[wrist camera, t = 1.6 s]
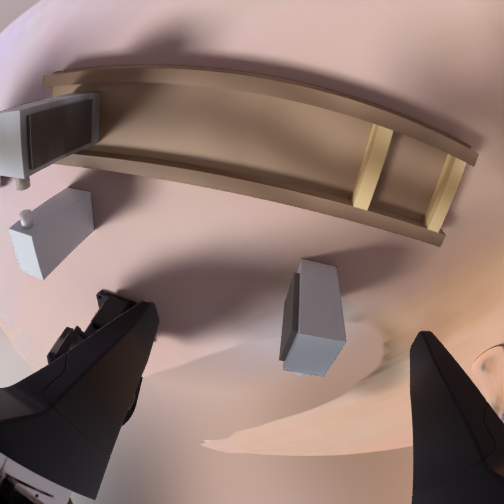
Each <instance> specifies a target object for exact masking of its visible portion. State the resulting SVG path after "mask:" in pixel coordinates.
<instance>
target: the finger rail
mask: <svg viewBox="0 0 504 504" xmlns="http://www.w3.org/2000/svg"><path fill="white" fill-rule="evenodd" d="M47 87H52V97H51V98H47V99H43V100H39V101H35V102H31V103H27V104H24V105H20V106H17V107H13V108H10V109H7V110H4V111H1V112H0V175H1V176H8V177H14V178H15V179H16V187H17V190H25V189H27V188H29V187H30V178H29V176H31V175H32V174H34V173H36V172H38V171H40V170H42V169H44V168H45V167H47V166H49V165H51V164H60V165H68V166H76V167H84V168H92V169H99V170H106V171H113V172H120V173H127V174H133V175H139V176H146V177H152V178H158V179H163V180H169V181H175V182H180V183H186V184H191V185H196V186H202V187H207V188H212V189H217V190H222V191H227V192H232V193H237V194H241V195H246V196H251V197H255V198H260V199H264V200H269V201H273V202H278V203H282V204H286V205H290V206H295V207H299V208H303V209H307V210H311V211H315V212H319V213H323V214H327V215H331V216H335V217H339V218H343V219H346V220H350V221H354V222H358V223H361V224H365V225H368V226H372V227H376V228H379V229H383V230H386V231H390V232H393V233H397V234H400V235H403V236H407V237H410V238H413V239H417V240H420V241H423V242H426V243H430V244H433V245H436V246H439V247H440V246H441V244H442V242H443V240H444V238H445V236H446V235H445V234H444V232H443V231H442V230H441V229H440V228H441V226H442V224H443V221H444V219H445V217H446V215H447V212H448V210H449V208H450V205H451V203H452V200H453V198H454V196H455V193H456V191H457V188H458V185H459V183H460V180H461V177H462V175H463V172H464V169H465V166H466V163H468V164H470V165H472V166H475V163H476V160H477V157H478V153H476V152H475V151H473V150H471V149H470V148H471V146H470V145H468V144H466V143H464V142H462V141H461V140H459V139H457V138H455V137H453V136H451V135H449V134H447V133H445V132H443V131H440V130H438V129H436V128H434V127H432V126H430V125H427V124H425V123H423V122H421V121H418V120H416V119H414V118H411V117H409V116H406V115H404V114H401V113H399V112H396V111H394V110H391V109H388V108H386V107H383V106H380V105H377V104H375V103H372V102H369V101H366V100H363V99H360V98H357V97H353V96H350V95H347V94H344V93H340V92H337V91H333V90H329V89H326V88H322V87H318V86H314V85H310V84H306V83H302V82H297V81H293V80H288V79H283V78H278V77H273V76H267V75H262V74H256V73H249V72H242V71H235V70H227V69H218V68H208V67H195V66H178V65H118V66H102V67H90V68H80V69H72V70H64V71H58V72H54V73H53V75H49V76H44V77H43V88H47Z"/></svg>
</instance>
